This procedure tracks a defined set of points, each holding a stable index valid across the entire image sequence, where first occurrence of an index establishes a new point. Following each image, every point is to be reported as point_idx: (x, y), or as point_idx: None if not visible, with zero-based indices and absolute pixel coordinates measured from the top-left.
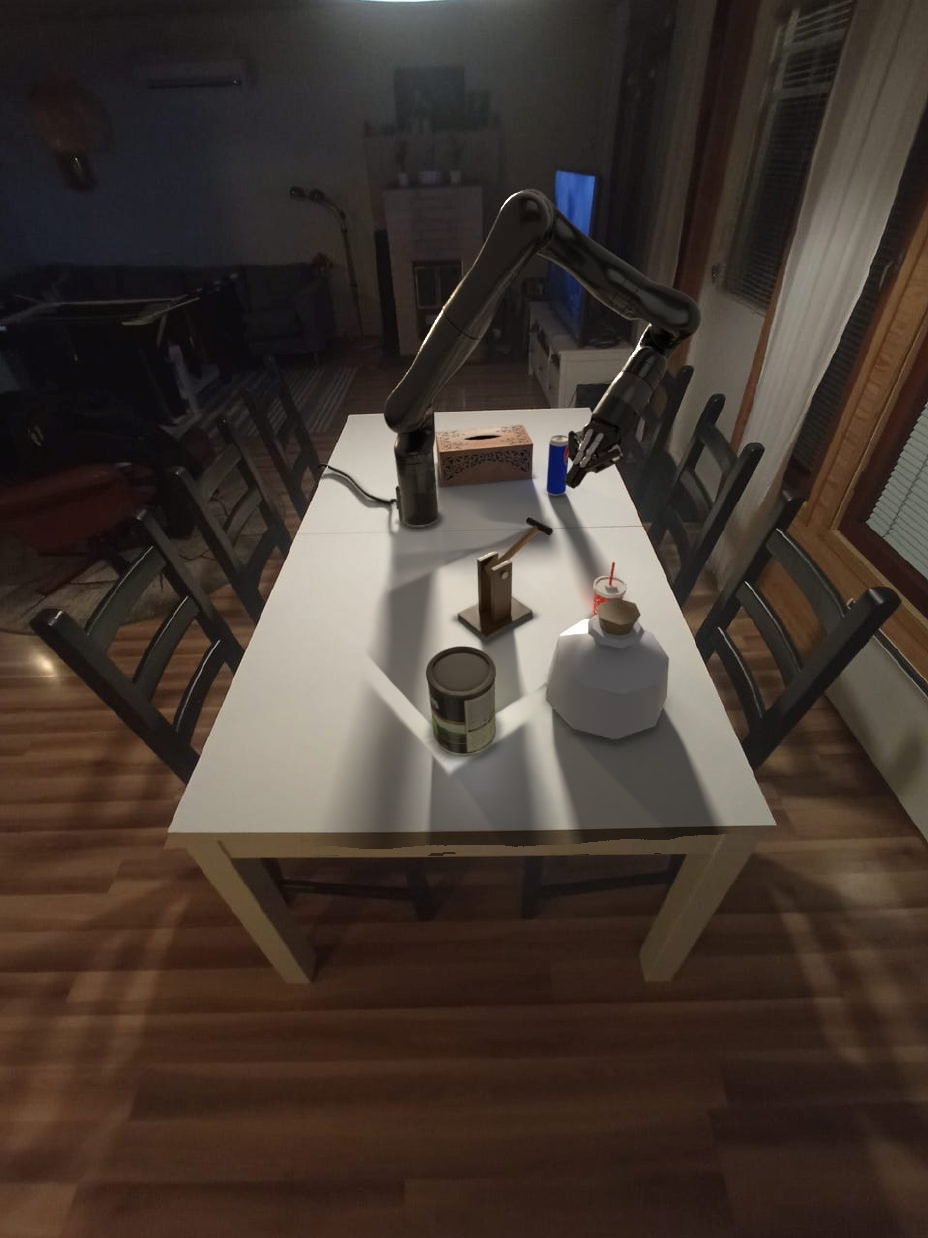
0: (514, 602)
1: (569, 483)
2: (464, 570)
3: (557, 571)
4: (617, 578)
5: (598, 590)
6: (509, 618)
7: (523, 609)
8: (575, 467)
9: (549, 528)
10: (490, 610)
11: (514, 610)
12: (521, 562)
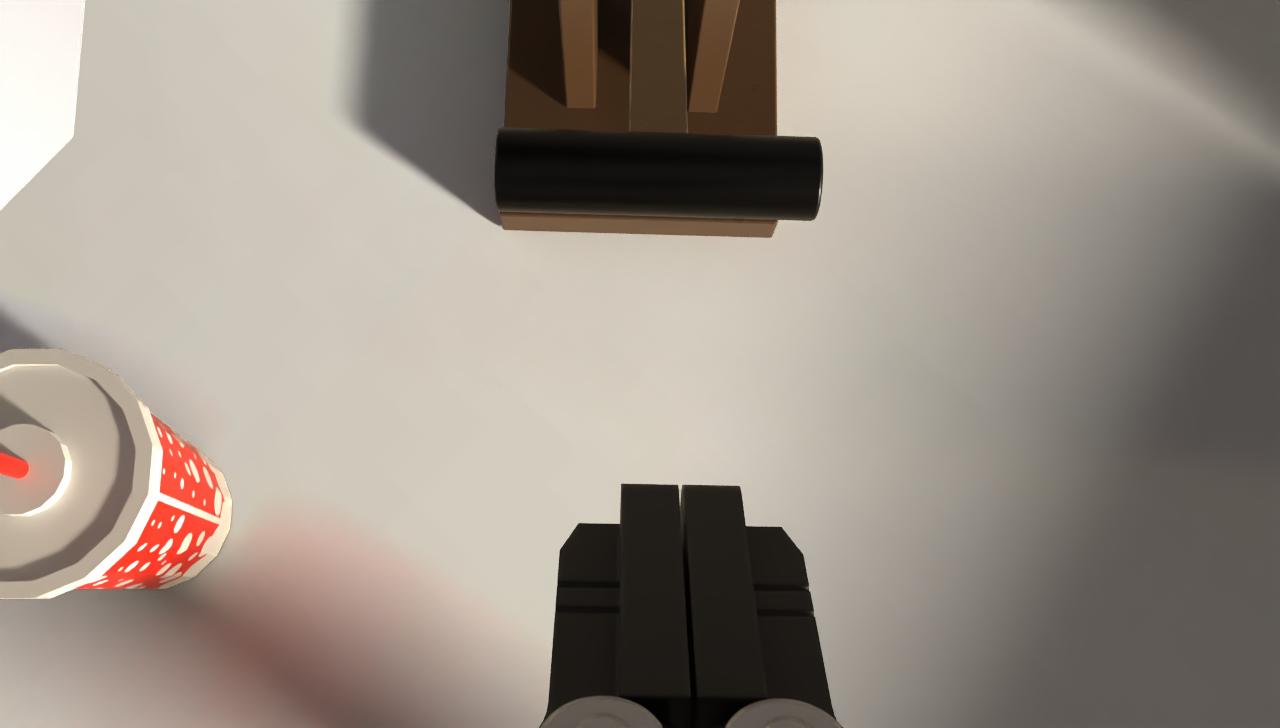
0: None
1: (632, 485)
2: (1143, 227)
3: None
4: (30, 583)
5: (50, 355)
6: (540, 72)
7: None
8: (715, 670)
9: (499, 146)
10: None
11: None
12: (988, 576)
